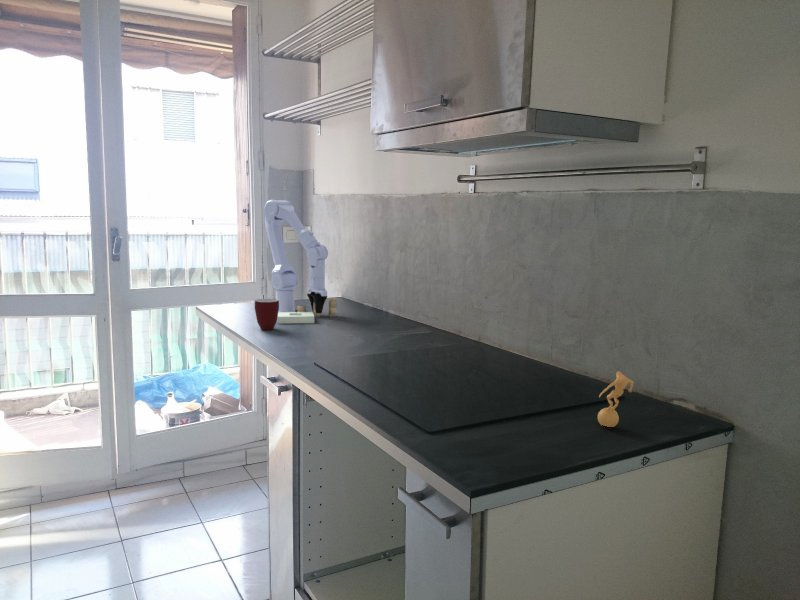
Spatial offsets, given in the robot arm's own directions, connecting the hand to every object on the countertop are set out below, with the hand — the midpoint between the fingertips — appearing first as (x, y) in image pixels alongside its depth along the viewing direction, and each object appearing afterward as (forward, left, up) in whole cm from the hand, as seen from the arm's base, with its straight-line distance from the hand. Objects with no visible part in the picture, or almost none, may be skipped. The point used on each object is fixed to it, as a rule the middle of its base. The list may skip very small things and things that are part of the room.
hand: (317, 312), depth 234 cm
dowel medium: (0, 0, -1) cm, 1 cm away
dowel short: (0, -6, -2) cm, 6 cm away
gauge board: (+10, -8, -2) cm, 13 cm away
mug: (+23, -19, -2) cm, 29 cm away
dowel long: (0, +6, -2) cm, 6 cm away
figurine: (+129, +49, -2) cm, 138 cm away
